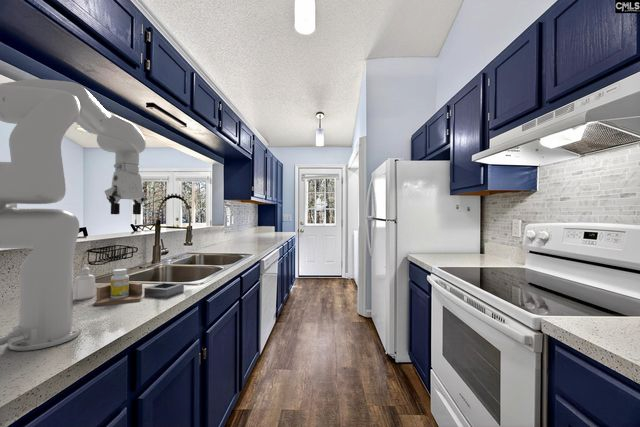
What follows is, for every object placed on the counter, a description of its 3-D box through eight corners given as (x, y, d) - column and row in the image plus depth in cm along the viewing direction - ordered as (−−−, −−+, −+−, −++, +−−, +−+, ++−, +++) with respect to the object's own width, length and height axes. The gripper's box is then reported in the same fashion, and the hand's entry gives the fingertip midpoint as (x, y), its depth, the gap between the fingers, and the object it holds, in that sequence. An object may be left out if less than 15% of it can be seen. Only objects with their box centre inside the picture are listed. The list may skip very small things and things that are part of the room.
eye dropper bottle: (93, 298, 105) (94, 265, 105) (73, 300, 102) (74, 266, 102) (95, 295, 108) (96, 263, 108) (76, 297, 106) (76, 264, 106)
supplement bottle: (125, 298, 102) (126, 270, 102) (107, 299, 101) (108, 271, 101) (130, 294, 107) (131, 268, 107) (113, 295, 106) (114, 268, 106)
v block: (141, 301, 102) (141, 286, 102) (93, 306, 96) (93, 291, 96) (143, 292, 113) (143, 279, 113) (100, 297, 107) (100, 283, 107)
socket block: (166, 297, 107) (166, 289, 107) (144, 296, 109) (144, 288, 109) (183, 291, 116) (183, 283, 116) (162, 289, 118) (163, 282, 118)
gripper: (115, 165, 102) (114, 214, 102) (153, 172, 119) (152, 214, 119) (97, 165, 104) (96, 214, 104) (137, 172, 121) (136, 214, 121)
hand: (126, 214), depth 111 cm, fingers open, 9 cm apart
